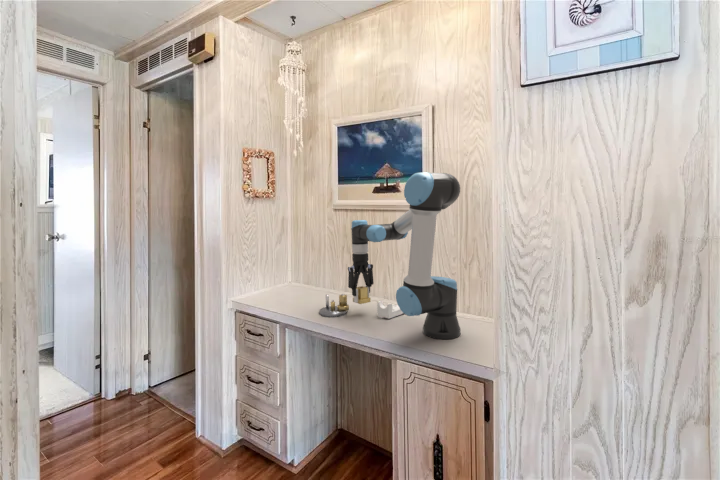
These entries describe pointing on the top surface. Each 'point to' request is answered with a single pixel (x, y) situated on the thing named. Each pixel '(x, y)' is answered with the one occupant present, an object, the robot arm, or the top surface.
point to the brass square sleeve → (362, 295)
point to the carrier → (335, 307)
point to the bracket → (387, 310)
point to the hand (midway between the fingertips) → (361, 301)
